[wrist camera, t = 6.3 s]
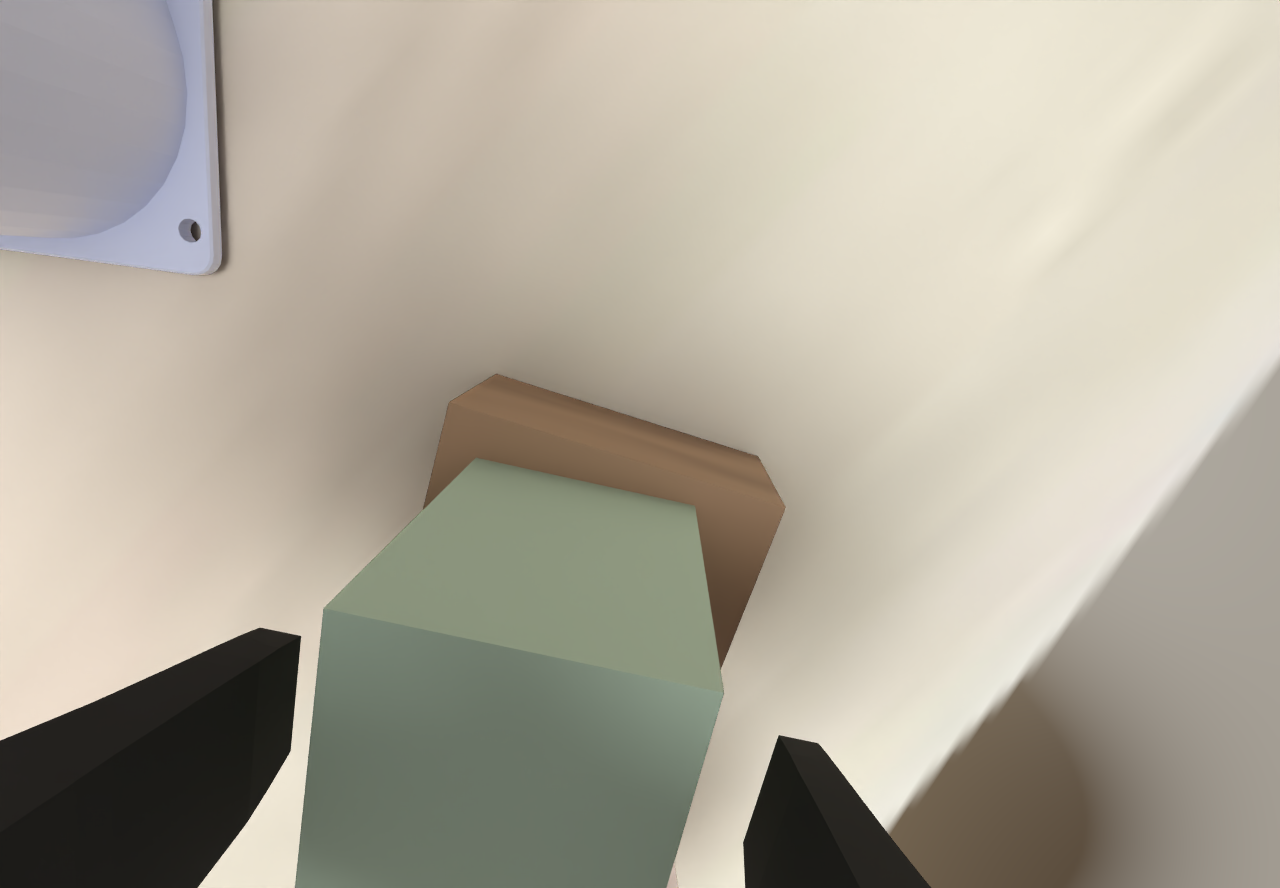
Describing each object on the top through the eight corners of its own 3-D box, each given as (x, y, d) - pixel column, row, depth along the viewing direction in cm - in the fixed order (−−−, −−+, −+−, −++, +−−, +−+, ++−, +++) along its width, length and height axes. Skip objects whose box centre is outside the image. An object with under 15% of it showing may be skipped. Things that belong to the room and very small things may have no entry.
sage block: (476, 457, 13) (324, 608, 7) (694, 505, 13) (723, 692, 7) (444, 650, 14) (291, 917, 8) (645, 693, 14) (636, 986, 8)
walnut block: (498, 372, 16) (448, 402, 13) (756, 453, 17) (785, 507, 13) (438, 606, 18) (378, 695, 14) (672, 675, 18) (675, 781, 15)
